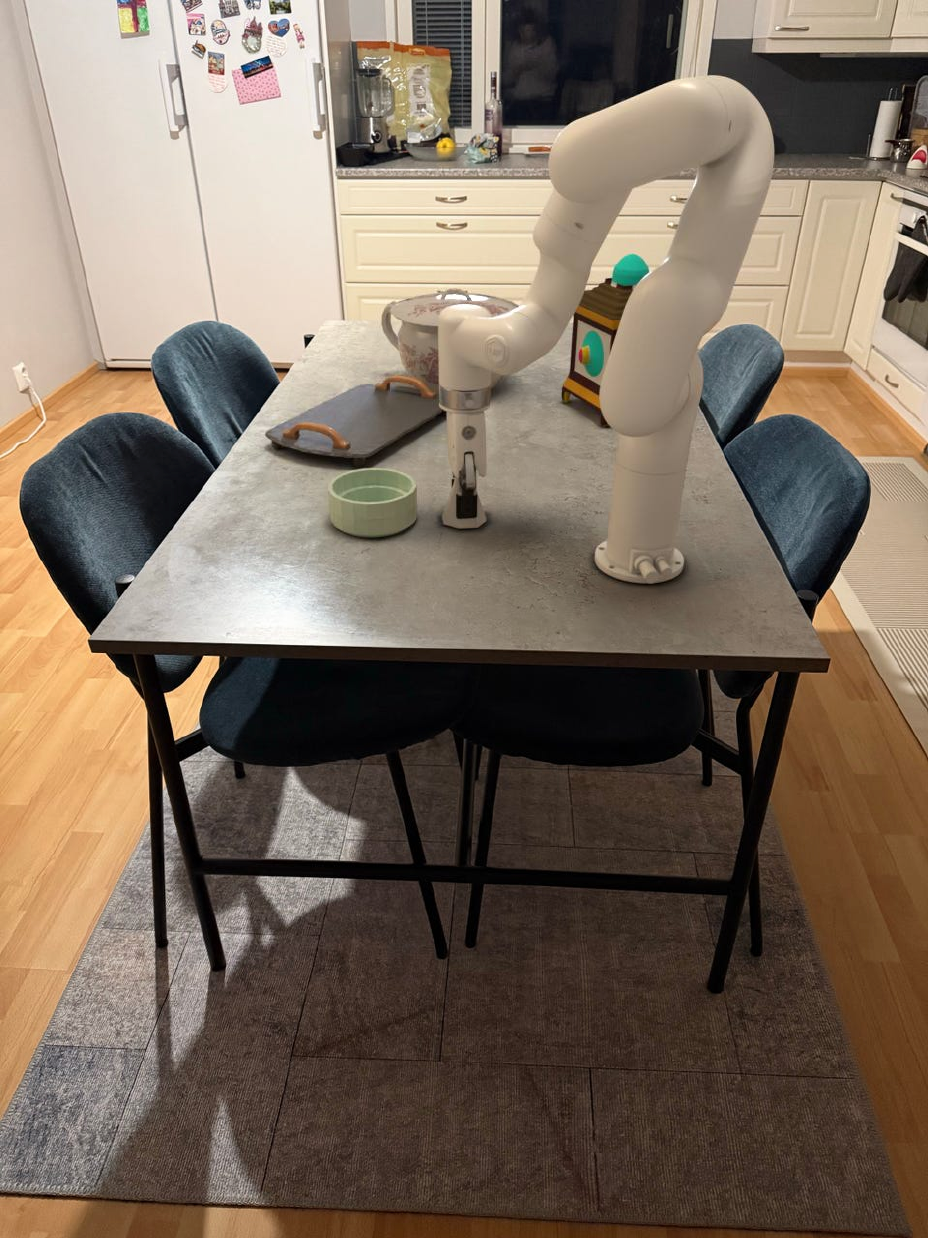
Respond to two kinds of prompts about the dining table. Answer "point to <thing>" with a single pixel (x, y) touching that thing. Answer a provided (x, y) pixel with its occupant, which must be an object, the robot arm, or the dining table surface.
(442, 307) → the chamber pot
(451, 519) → the flask
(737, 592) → the dining table surface
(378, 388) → the serving tray
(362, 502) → the basin
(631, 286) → the decorative lantern
